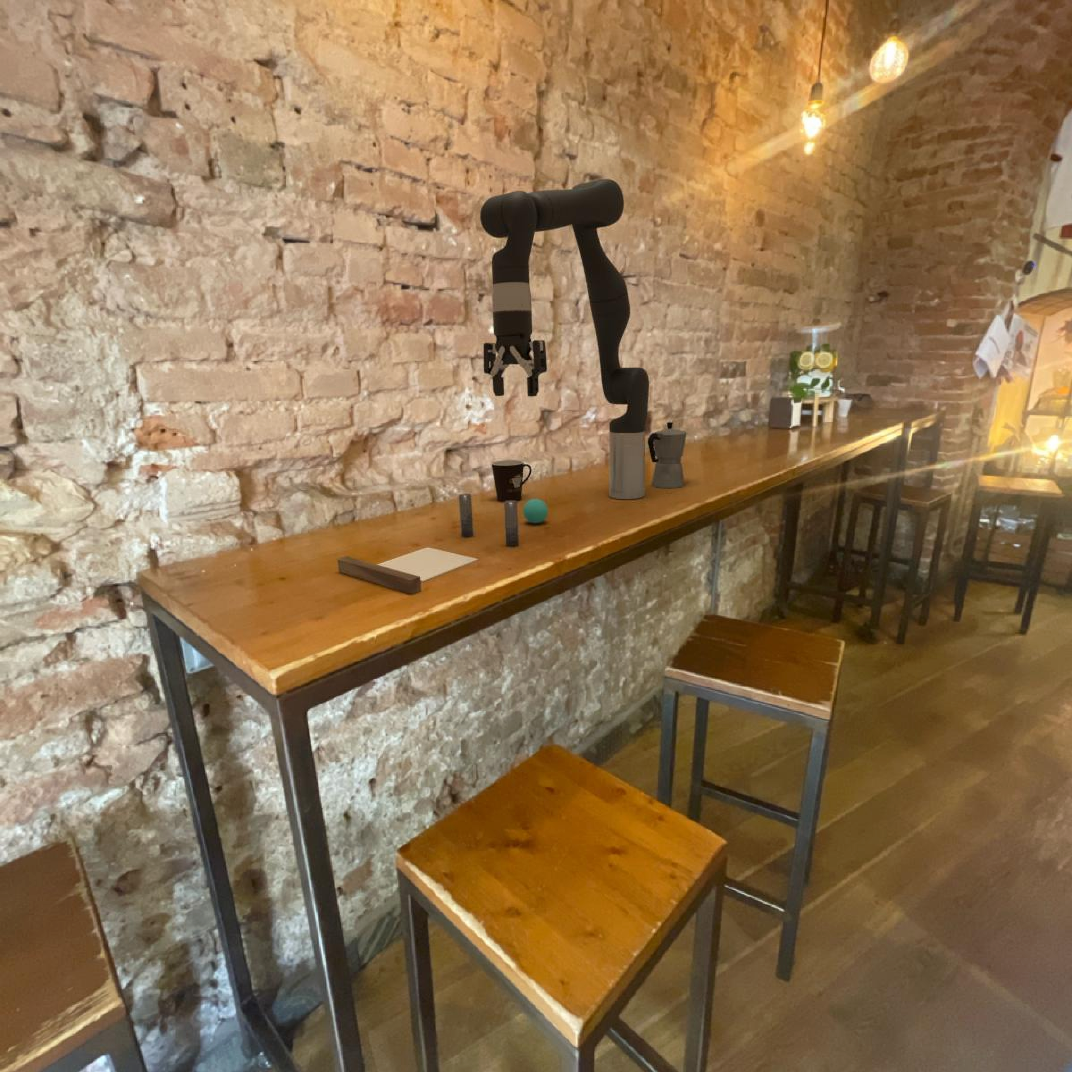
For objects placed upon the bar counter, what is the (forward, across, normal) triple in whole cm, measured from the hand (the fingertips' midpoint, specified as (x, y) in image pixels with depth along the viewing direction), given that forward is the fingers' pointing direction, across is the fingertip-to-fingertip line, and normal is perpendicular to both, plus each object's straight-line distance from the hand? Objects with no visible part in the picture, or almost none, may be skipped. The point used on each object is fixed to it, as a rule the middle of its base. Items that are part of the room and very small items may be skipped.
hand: (515, 396), depth 123 cm
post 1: (+29, +10, +6) cm, 32 cm away
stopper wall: (+29, +4, +34) cm, 45 cm away
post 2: (+29, -2, +6) cm, 30 cm away
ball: (+26, +4, -10) cm, 29 cm away
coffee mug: (+30, +24, -27) cm, 47 cm away
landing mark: (+29, +4, +24) cm, 38 cm away
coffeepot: (+30, -3, -62) cm, 69 cm away
